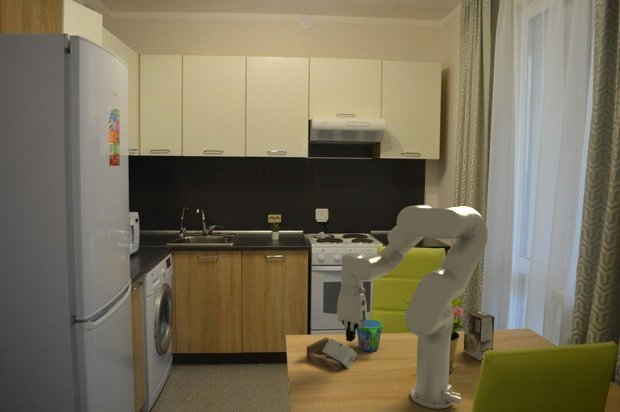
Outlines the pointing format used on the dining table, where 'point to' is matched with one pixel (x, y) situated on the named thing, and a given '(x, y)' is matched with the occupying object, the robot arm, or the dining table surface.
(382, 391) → the dining table surface
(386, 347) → the dining table surface
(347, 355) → the skincare box
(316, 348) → the u rest
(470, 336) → the coffee box
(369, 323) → the snack cup
